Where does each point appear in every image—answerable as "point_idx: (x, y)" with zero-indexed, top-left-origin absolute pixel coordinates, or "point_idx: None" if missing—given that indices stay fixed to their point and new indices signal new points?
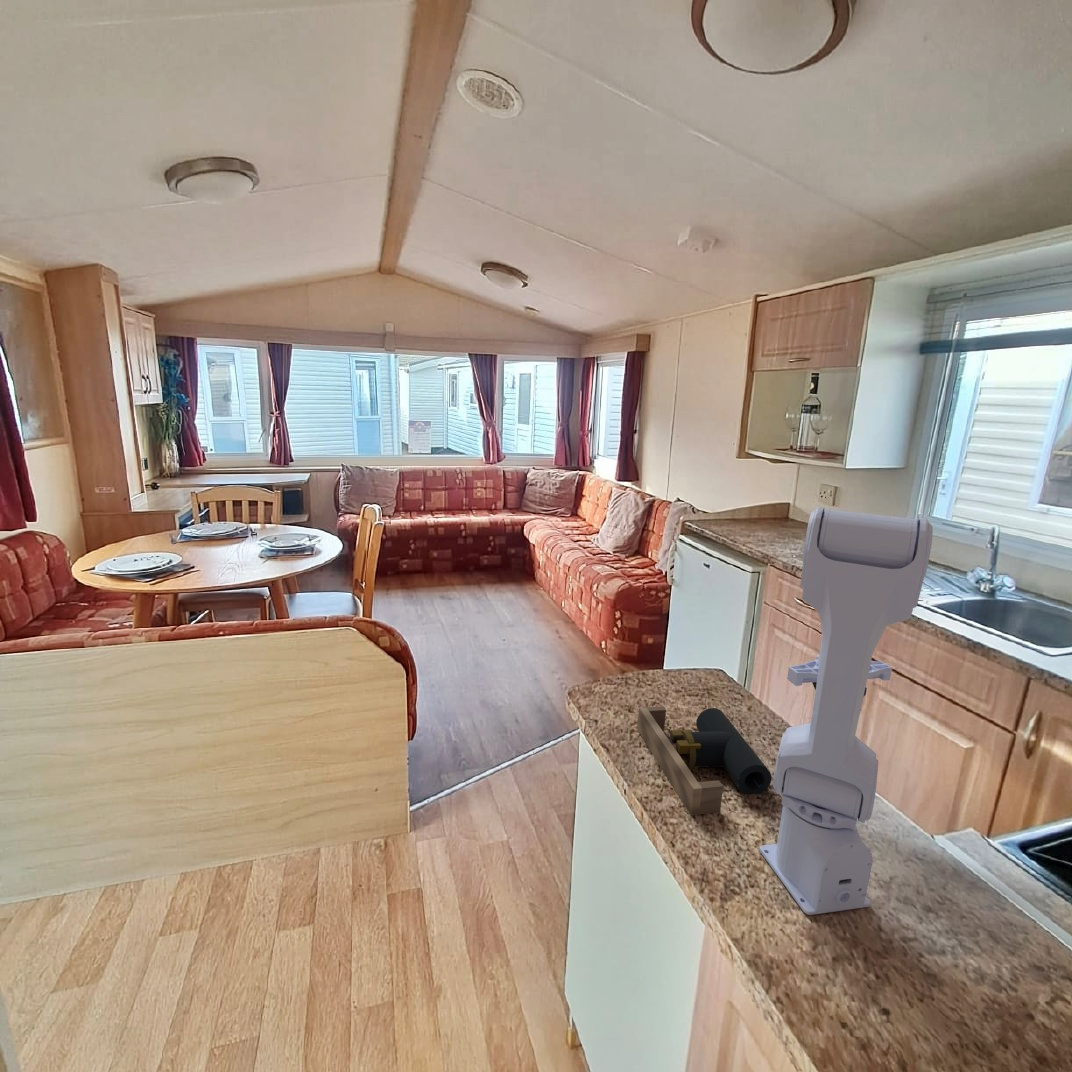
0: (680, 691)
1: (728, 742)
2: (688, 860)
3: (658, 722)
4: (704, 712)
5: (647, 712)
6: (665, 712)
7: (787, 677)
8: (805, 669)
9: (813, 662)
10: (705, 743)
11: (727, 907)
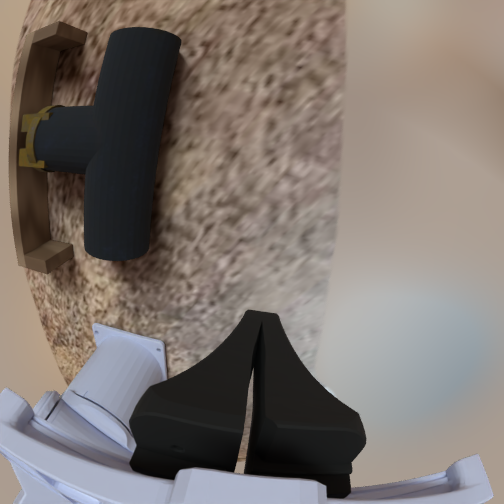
0: None
1: (88, 166)
2: (35, 302)
3: (62, 43)
4: (110, 38)
5: (27, 49)
6: (58, 35)
7: (2, 393)
8: (31, 473)
9: (93, 489)
10: (52, 161)
11: (56, 349)
